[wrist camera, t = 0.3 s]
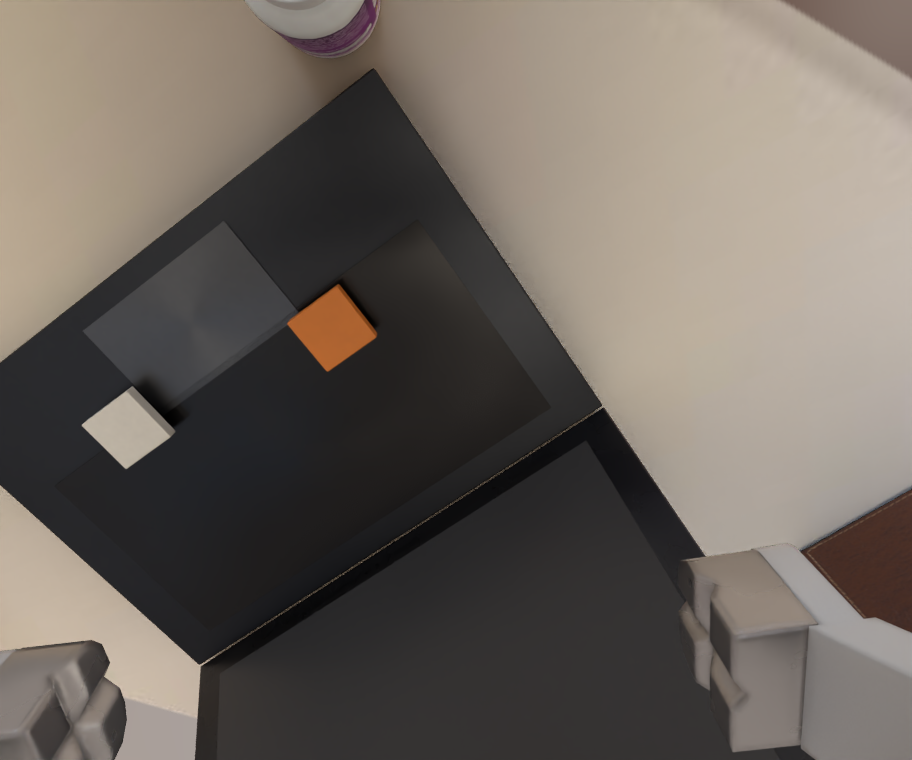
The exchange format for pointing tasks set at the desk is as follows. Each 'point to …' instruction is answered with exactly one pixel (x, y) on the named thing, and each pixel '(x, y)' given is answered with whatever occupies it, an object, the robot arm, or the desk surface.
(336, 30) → the pill bottle
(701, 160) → the desk surface
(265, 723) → the laptop screen
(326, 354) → the orange block
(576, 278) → the desk surface
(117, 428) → the white flat square block
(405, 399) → the laptop
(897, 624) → the letter holder
